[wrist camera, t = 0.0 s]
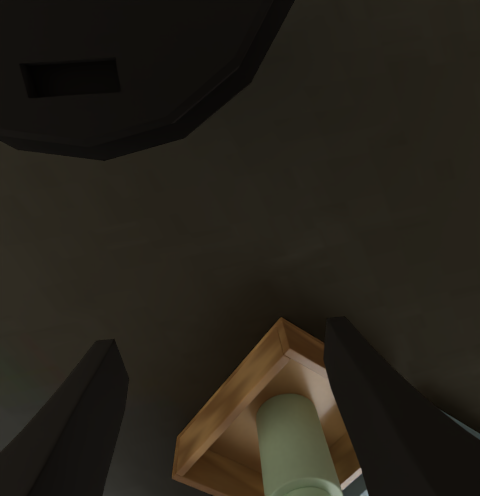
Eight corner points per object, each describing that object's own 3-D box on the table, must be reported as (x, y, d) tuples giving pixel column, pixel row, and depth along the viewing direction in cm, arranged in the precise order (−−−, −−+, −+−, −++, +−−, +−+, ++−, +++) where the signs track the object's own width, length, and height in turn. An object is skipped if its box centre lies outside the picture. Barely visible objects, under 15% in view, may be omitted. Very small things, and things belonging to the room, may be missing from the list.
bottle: (290, 446, 28) (324, 608, 19) (243, 423, 27) (255, 585, 18) (329, 409, 27) (384, 564, 18) (281, 383, 26) (314, 535, 17)
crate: (289, 486, 31) (296, 529, 28) (176, 436, 28) (170, 478, 25) (397, 386, 27) (420, 423, 24) (280, 316, 24) (289, 348, 21)
